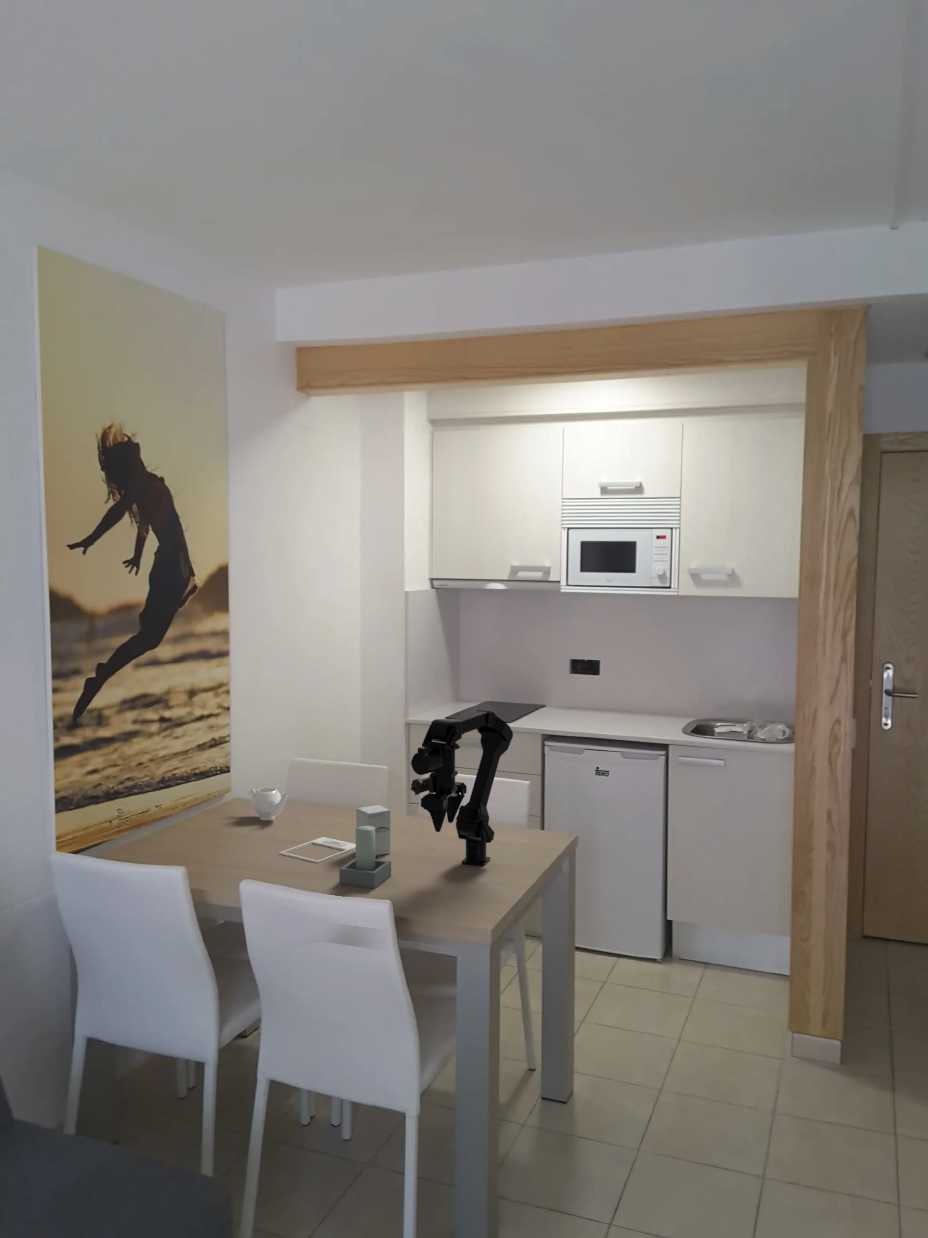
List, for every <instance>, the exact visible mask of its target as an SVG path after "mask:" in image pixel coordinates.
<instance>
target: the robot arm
mask: <svg viewBox="0 0 928 1238" xmlns="http://www.w3.org/2000/svg"><path fill="white" fill-rule="evenodd" d="M475 730H476V731H477V732H478V733H479V734H480V740H479V742H480V745H481V749H482V755H481V758H480V761H479V765H478V769H477V773H476V775H475V779H474V783H473V787H472V790H471V793H470V797H469V800H468V802H467V803H466V804H464V805H461V804H462V801H463V799H464V798H465V797H466V796H465V795H466V794H467V792H468V791H467V784H465V783H464V781H462V782H461V781H456V776H457V775H458V774H459V773H458V770H456V750H459V749H460V748H461V746H460V744H458V743H457V742H458V741H459V740H461V739H462V736H463V735H464V734H466V733H469V732H473V731H475ZM513 732H514V731H513V730H512V728H511V726H510V725H509V724H508V723H507V722H506V721H504V720H503V719H502V718H500V717H499V716H498V715H497V714H496V713H495V712H494V711H492V710H490V709H489V710H488V709H482V708H481V709H476V710H475V711H473V712H470V713H468V714H465V715H462V716H458V717H455V718H439V719H437V718H436V719H434V720H432V721H431V723H430V725H429V726H428V729H427V731H426V734H425V736H424V738H423V741H422V743H421V747H417V752H416V753H414V754H413V756H412V757H411V758H412V759H411V760H410V761H411V762H410V764H411V768H412V770H413V771H414V773H415V774H417V775H419V776H424V775H427V774H429V776H427V777H425V778H420V777H419V778H415V779H413V780H412V781H411V784H410V790H411V791H413V793H414V795H415V796H417V795H420V794H422V793H425V792H428V793H426V794H425V795H423V796H422V797H421V798H420V807H421V808H422V809H423V810H426V812H428V813H429V815H430V817H431V821H432V824H433V827H434V831H435V832H436V833H440V832H441V830H442V827H443V825H444V822H445V818H446V819H447V823H449V824H452V823H453V822H454V819H455V820H456V821H455V827H456V833H457V836H458V837H457V838H458V839H460V840H465V857H464V858H463V859H462V860H461V861H460V862H461V864H465V865H473V866H474V865H475V866H485V865H486V864H487V863H488V862H490V860H491V857H489V856H487V844H490V843H492V841H493V840H494V838H495V831H494V830H493V828H492V827H491V826H490V824H489V822H490V816H489V811H488V807H487V806H488V802H489V799H490V794H491V791H492V787H493V783H494V780H495V777H496V774H497V773H496V772H497V769H498V765H499V763H500V759H501V757H502V755H504V754H505V753H506V752H507V750H508V749H509V748H510V745H511V743H512V740H513V738H514V733H513ZM456 814H457V816H456ZM455 817H456V818H455Z"/></svg>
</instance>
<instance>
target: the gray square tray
mask: <svg viewBox="0 0 928 1238" xmlns="http://www.w3.org/2000/svg"><path fill="white" fill-rule="evenodd" d="M338 869H339V871H338V873H339V875H338V878H339V879H338V880H339V881H338V882H339V883H338V884H339V885H341V886H342V885H343V886H350V887H351V886H352V887H359V888H366V889H374V890H376V889H377V888H378V887H380V886H381V885H382V884H383V883H385V881H387V880H388V879H390V878H391V877H392V861H390V860H384V859H383V860H382V859H375V870H374V871H365V870H357V869H356V857H355V858H354V859H352V860H350V861H349V862H347V863H346V864H344V865H343V866H342V867H340V868H338Z"/></svg>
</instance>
